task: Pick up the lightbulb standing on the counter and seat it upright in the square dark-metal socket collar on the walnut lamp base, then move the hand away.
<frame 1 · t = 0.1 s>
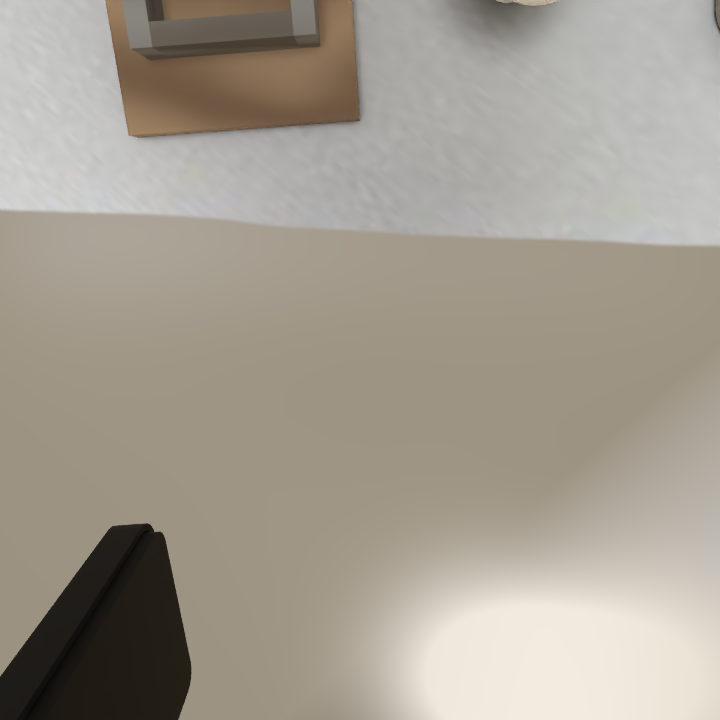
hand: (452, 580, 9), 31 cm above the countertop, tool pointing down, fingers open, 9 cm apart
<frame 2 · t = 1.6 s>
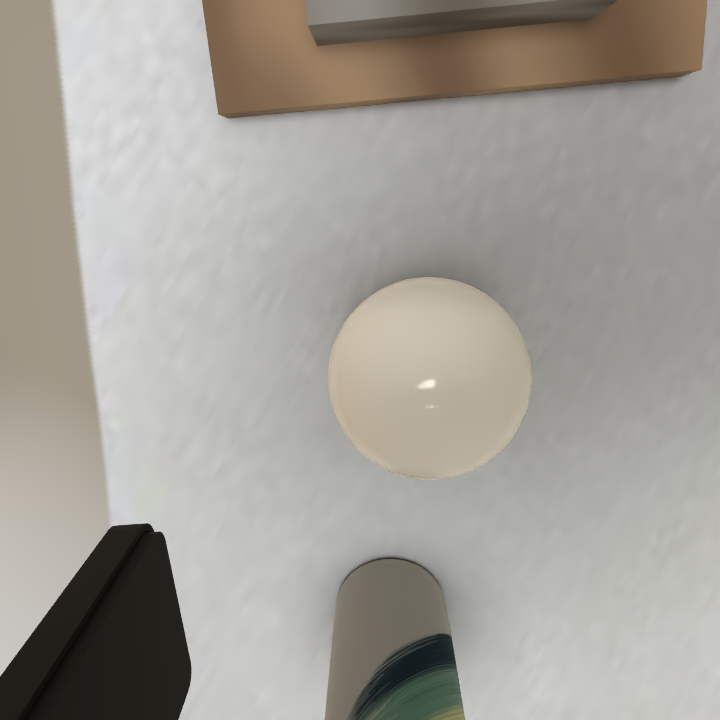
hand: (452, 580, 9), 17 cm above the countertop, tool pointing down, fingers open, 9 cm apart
lightbulb: (412, 319, 26), on the countertop
lotion bottle: (390, 599, 31), on the countertop
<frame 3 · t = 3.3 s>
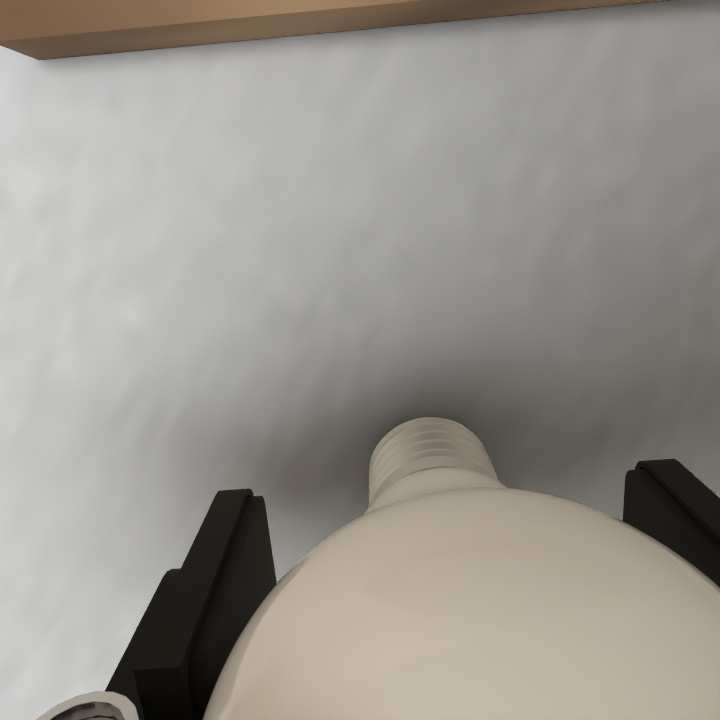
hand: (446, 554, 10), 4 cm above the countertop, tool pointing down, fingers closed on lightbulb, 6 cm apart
lightbulb: (425, 455, 14), on the countertop, touching gripper
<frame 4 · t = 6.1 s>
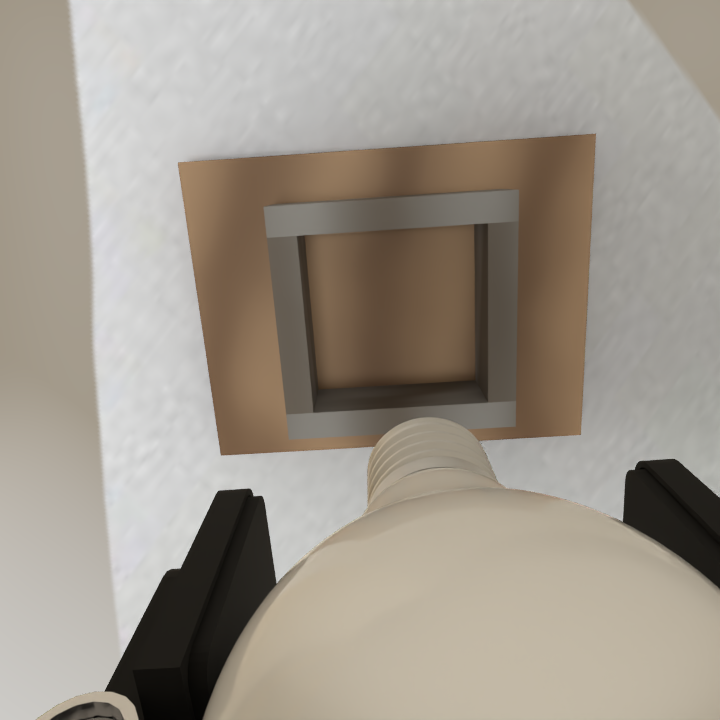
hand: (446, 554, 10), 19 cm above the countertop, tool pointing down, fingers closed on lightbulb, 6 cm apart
lightbulb: (423, 455, 14), point 16 cm above the countertop, touching gripper
lamp socket: (391, 301, 29), on the countertop
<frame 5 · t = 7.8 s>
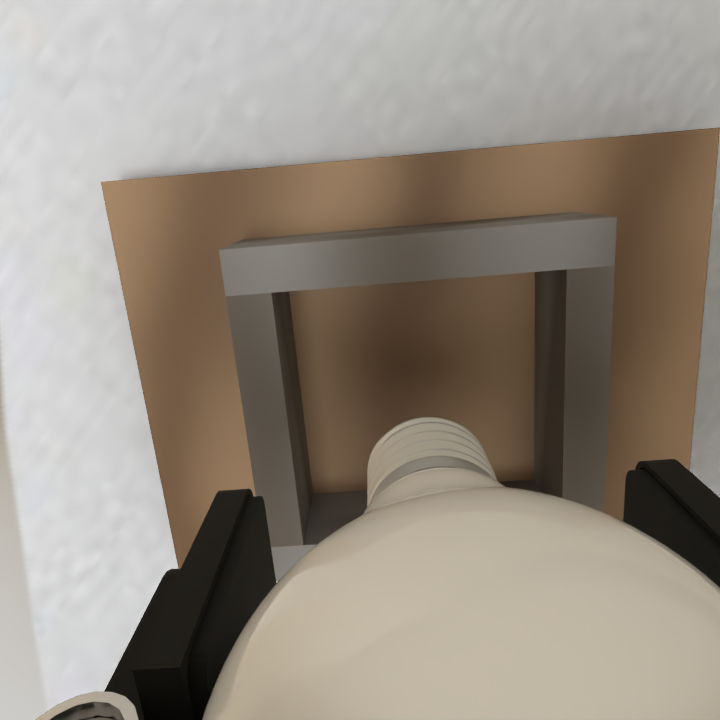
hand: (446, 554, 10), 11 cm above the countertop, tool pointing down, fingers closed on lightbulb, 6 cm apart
lightbulb: (423, 454, 14), point 7 cm above the countertop, touching gripper
lamp socket: (413, 368, 20), on the countertop
when the fingers open (6 cm above the countertop, at t = 9.1 s): lightbulb drops 1 cm, resting on lamp socket.
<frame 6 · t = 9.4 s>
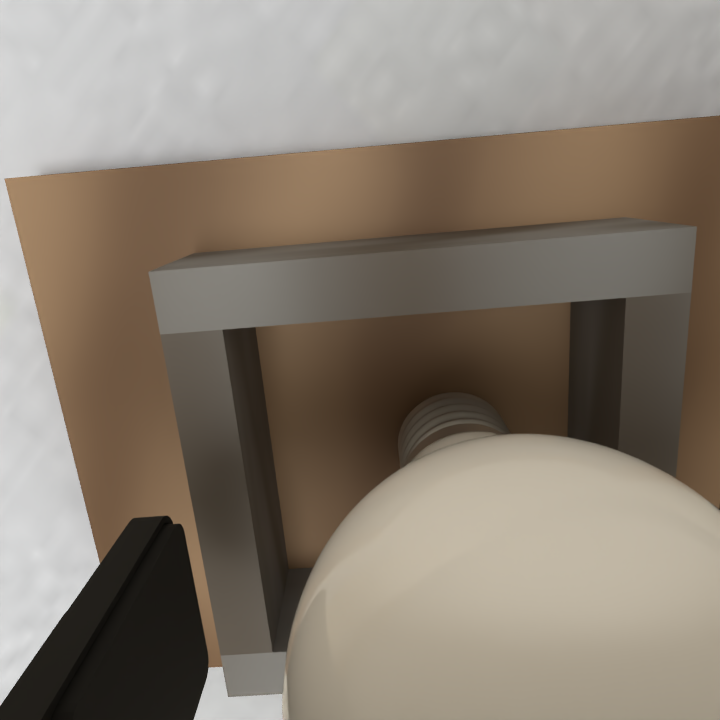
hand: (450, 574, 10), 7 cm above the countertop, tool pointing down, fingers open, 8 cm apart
lightbulb: (447, 428, 15), point 1 cm above the countertop, touching lamp socket
lamp socket: (413, 411, 16), on the countertop
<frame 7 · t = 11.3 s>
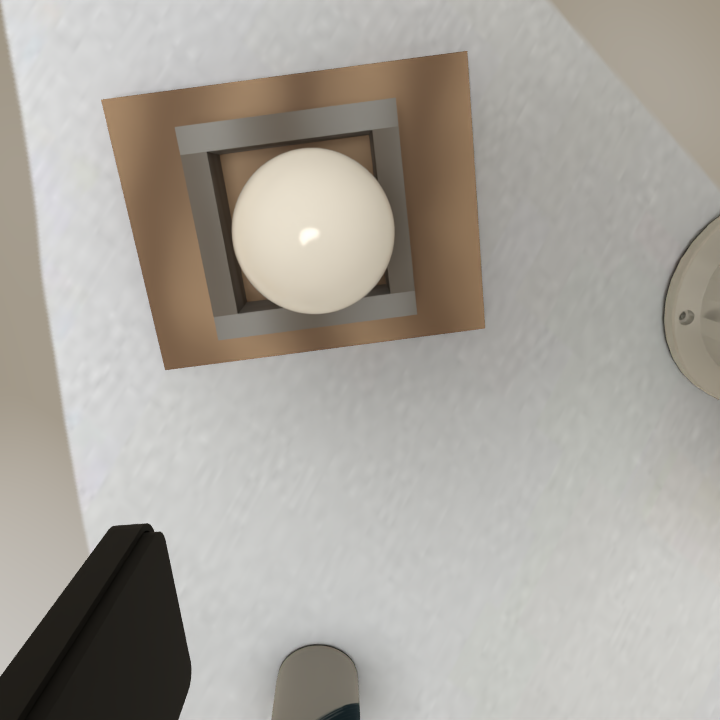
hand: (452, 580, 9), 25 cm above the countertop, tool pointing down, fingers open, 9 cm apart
lightbulb: (320, 219, 31), point 1 cm above the countertop, touching lamp socket
lotion bottle: (318, 673, 41), on the countertop
lamp socket: (307, 219, 32), on the countertop
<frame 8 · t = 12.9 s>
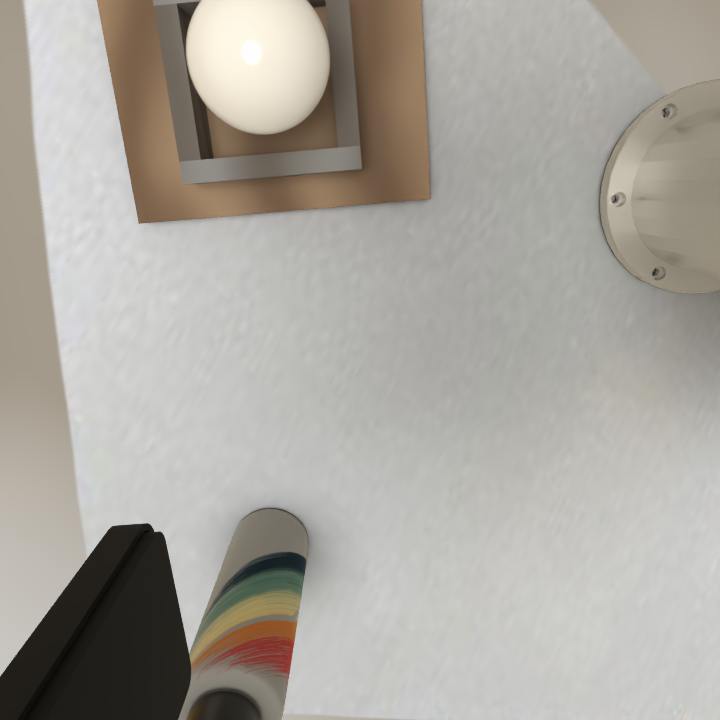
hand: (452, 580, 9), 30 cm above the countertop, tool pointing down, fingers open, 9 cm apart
lightbulb: (282, 86, 34), point 1 cm above the countertop, touching lamp socket
lotion bottle: (272, 538, 44), on the countertop
lamp socket: (272, 90, 35), on the countertop
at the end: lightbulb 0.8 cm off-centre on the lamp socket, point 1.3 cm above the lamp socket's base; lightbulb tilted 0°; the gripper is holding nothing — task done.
